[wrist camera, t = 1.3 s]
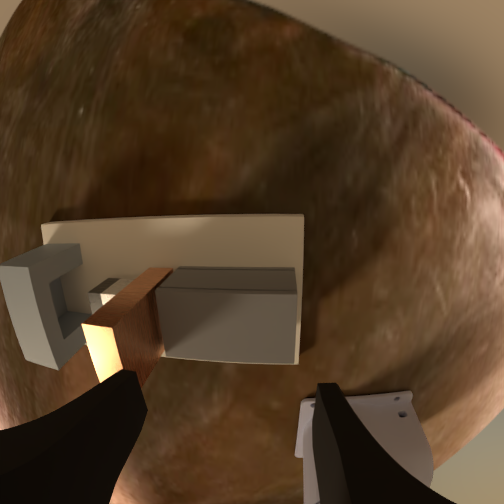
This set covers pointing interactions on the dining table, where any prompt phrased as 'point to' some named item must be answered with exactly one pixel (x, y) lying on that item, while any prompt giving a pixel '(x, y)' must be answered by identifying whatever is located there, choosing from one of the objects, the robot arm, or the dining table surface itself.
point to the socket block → (43, 303)
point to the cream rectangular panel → (201, 279)
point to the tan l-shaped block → (126, 324)
